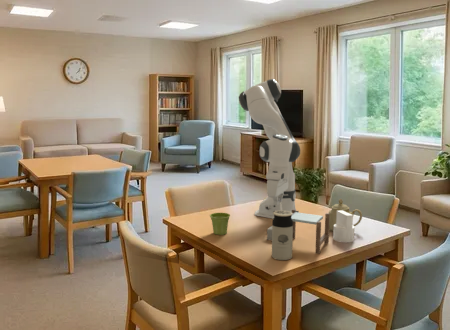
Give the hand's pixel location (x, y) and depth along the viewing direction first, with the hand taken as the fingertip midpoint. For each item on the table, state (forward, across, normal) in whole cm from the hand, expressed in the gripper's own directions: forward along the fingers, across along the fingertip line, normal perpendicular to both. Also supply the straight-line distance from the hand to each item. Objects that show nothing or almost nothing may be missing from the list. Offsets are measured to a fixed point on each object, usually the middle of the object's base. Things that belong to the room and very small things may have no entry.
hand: (277, 203), depth 198 cm
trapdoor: (+6, +3, +12) cm, 13 cm away
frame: (+16, +4, +14) cm, 21 cm away
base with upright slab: (+16, -12, +27) cm, 34 cm away
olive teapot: (+16, -27, +25) cm, 40 cm away
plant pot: (+17, +2, -26) cm, 31 cm away
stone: (+16, 0, -1) cm, 16 cm away
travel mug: (+16, +21, +9) cm, 28 cm away
